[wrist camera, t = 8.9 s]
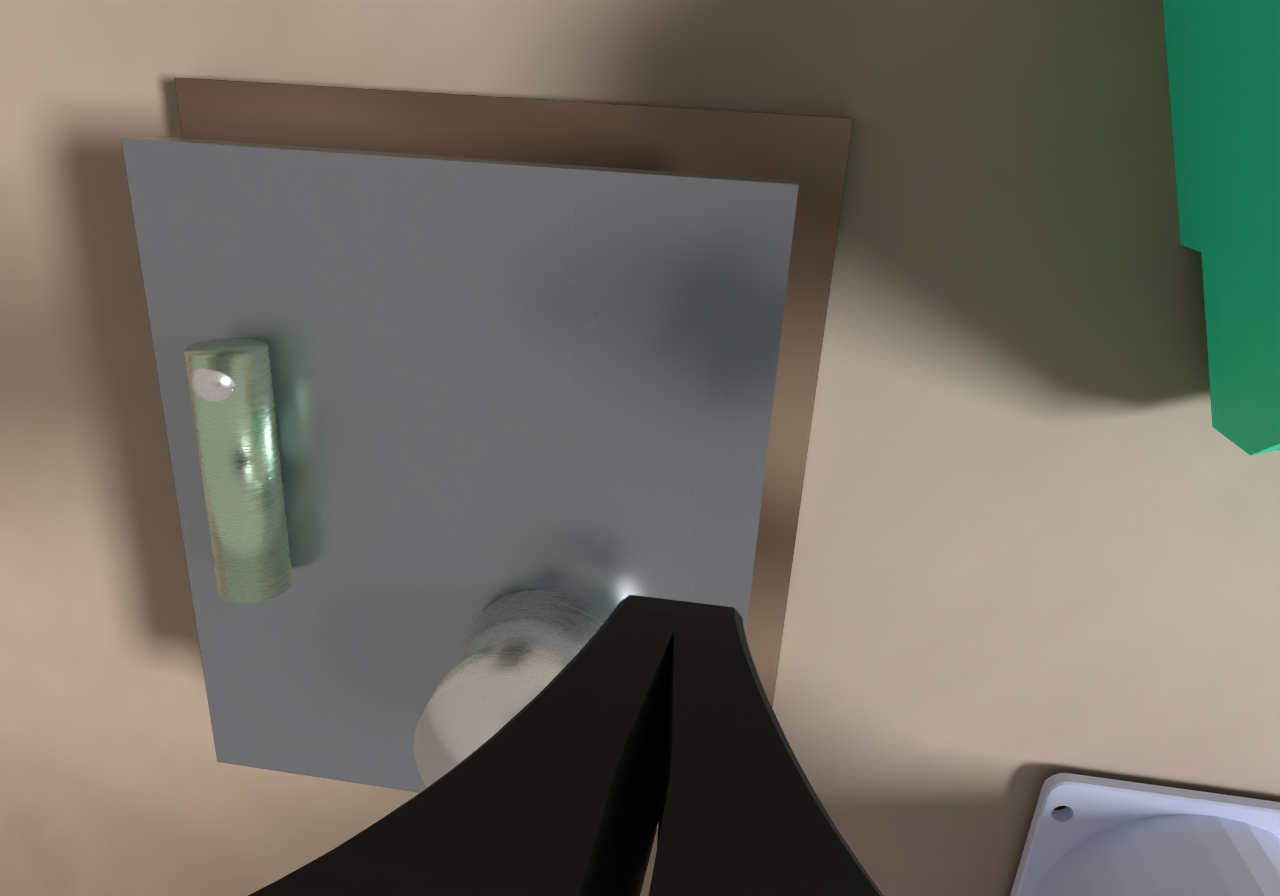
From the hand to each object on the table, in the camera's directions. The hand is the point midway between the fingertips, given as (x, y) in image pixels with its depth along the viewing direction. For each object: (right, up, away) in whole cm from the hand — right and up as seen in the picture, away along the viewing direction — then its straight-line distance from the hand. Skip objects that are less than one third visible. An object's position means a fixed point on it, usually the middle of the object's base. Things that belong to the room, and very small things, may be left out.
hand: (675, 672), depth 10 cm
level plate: (-4, +1, +8) cm, 9 cm away
